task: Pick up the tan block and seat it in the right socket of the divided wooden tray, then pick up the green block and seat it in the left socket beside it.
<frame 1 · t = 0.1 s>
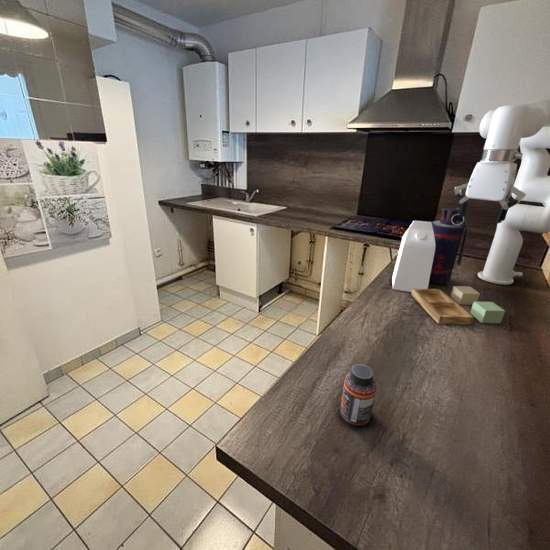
hand: (479, 219, 86), 31 cm above the worktop, tool pointing down, fingers open, 9 cm apart
supplement bottle: (354, 415, 59), on the worktop
divided wooden tray: (438, 308, 100), on the worktop
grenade: (435, 280, 122), on the worktop
green block: (484, 318, 94), on the worktop
tan block: (463, 300, 105), on the worktop
milk: (408, 286, 117), on the worktop
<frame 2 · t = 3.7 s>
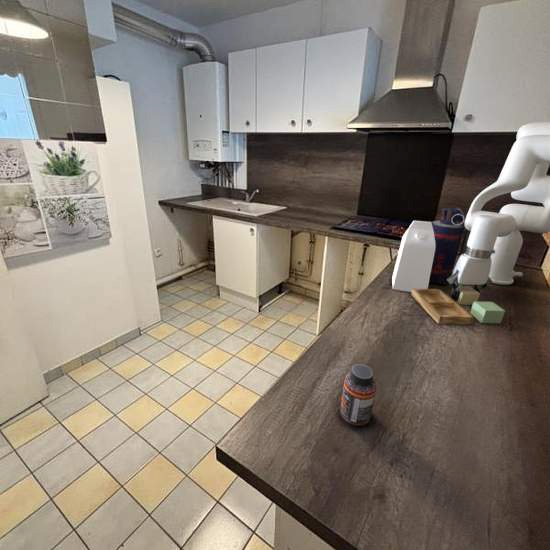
hand: (463, 299, 105), 1 cm above the worktop, tool pointing down, fingers closed on tan block, 6 cm apart
tan block: (463, 300, 105), on the worktop, touching gripper
everything else where it was.
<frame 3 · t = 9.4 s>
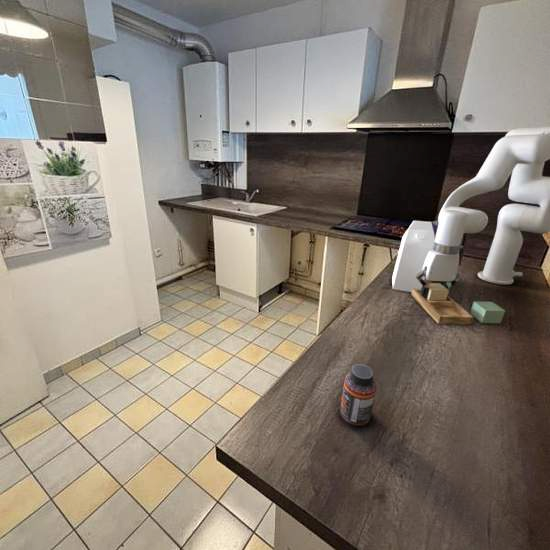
hand: (433, 296, 103), 2 cm above the worktop, tool pointing down, fingers closed on tan block, 6 cm apart
tan block: (432, 297, 104), point 2 cm above the worktop, touching gripper
everything else where it was.
when the fingers open (3 cm above the worktop, at t = 19.4 s): tan block drops 2 cm, resting on divided wooden tray.
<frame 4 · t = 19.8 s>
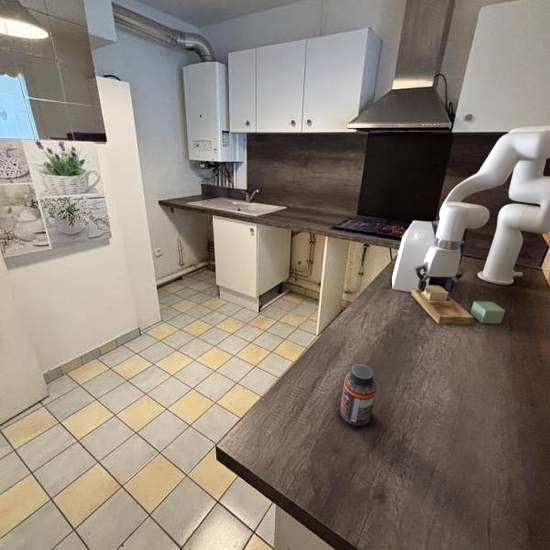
hand: (434, 290, 103), 4 cm above the worktop, tool pointing down, fingers open, 9 cm apart
tan block: (432, 300, 104), point 1 cm above the worktop, touching divided wooden tray
everything else where it was.
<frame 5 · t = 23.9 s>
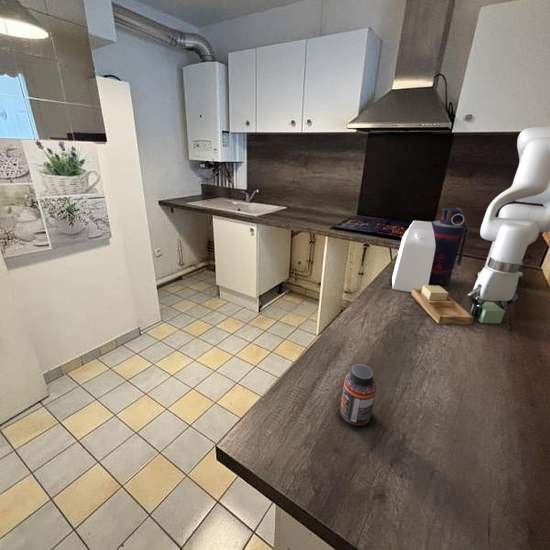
hand: (485, 316, 94), 1 cm above the worktop, tool pointing down, fingers closed on green block, 6 cm apart
green block: (484, 318, 94), on the worktop, touching gripper
everything else where it was.
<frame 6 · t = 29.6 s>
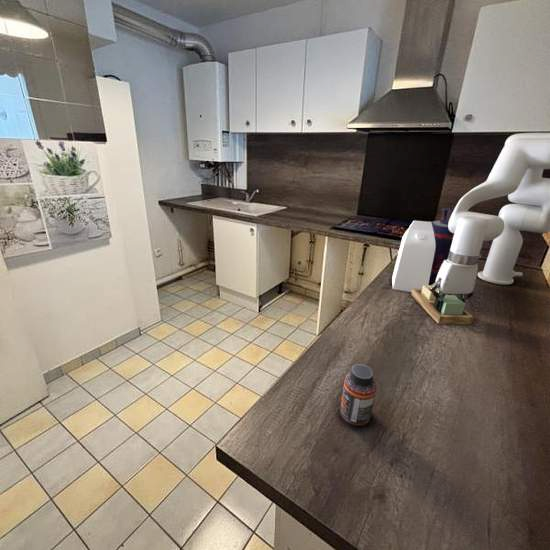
hand: (447, 309, 95), 2 cm above the worktop, tool pointing down, fingers closed on green block, 6 cm apart
green block: (447, 311, 95), point 2 cm above the worktop, touching gripper
everything else where it was.
when the fingers open (3 cm above the worktop, at t = 39.8 s): green block drops 2 cm, resting on divided wooden tray.
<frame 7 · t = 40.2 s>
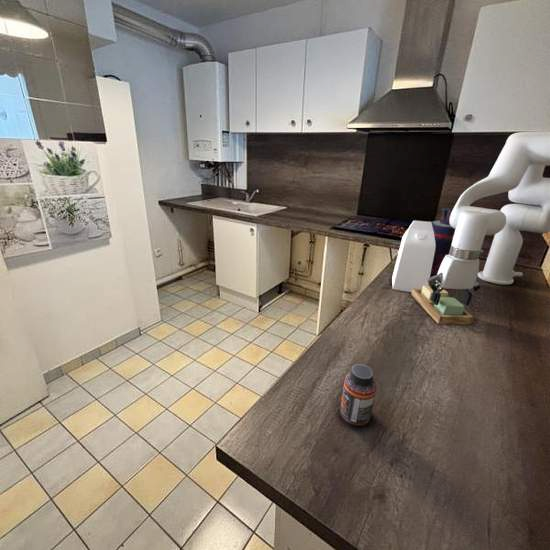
hand: (449, 303, 94), 4 cm above the worktop, tool pointing down, fingers open, 9 cm apart
green block: (446, 313, 95), point 1 cm above the worktop, touching divided wooden tray
everything else where it was.
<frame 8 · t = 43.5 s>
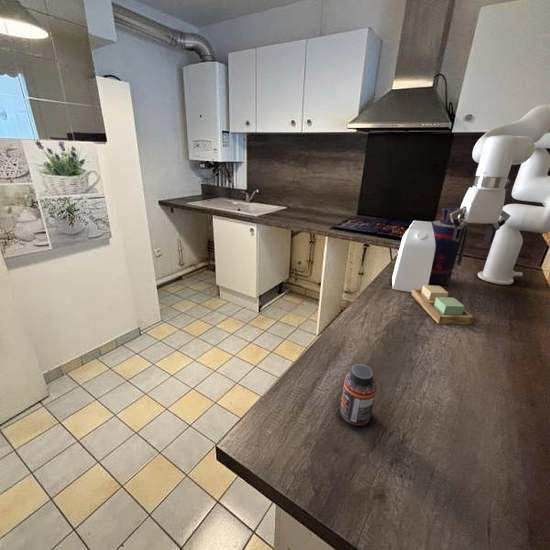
hand: (472, 241, 90), 24 cm above the worktop, tool pointing down, fingers open, 9 cm apart
nothing on the worktop moved.
at the end: tan block 0.1 cm from the target spot in the divided wooden tray, point 0.6 cm above the divided wooden tray's base; green block 0.1 cm from the target spot in the divided wooden tray, point 0.6 cm above the divided wooden tray's base; green block tilted 0° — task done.
